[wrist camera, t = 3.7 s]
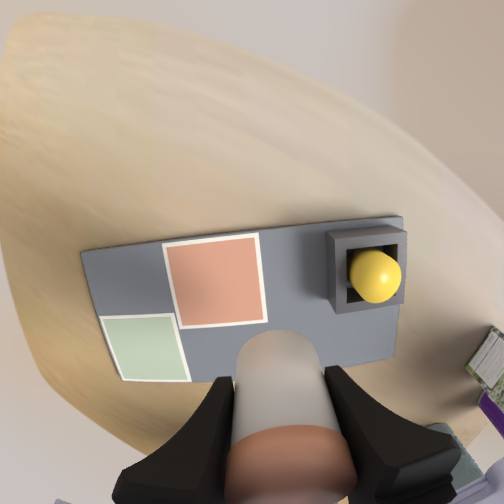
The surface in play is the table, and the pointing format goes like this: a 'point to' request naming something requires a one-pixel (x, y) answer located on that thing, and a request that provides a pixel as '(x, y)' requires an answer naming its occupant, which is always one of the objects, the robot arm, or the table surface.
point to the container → (492, 411)
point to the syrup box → (490, 366)
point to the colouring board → (228, 301)
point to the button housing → (337, 268)
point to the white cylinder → (285, 427)
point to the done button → (373, 274)
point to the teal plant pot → (460, 461)
